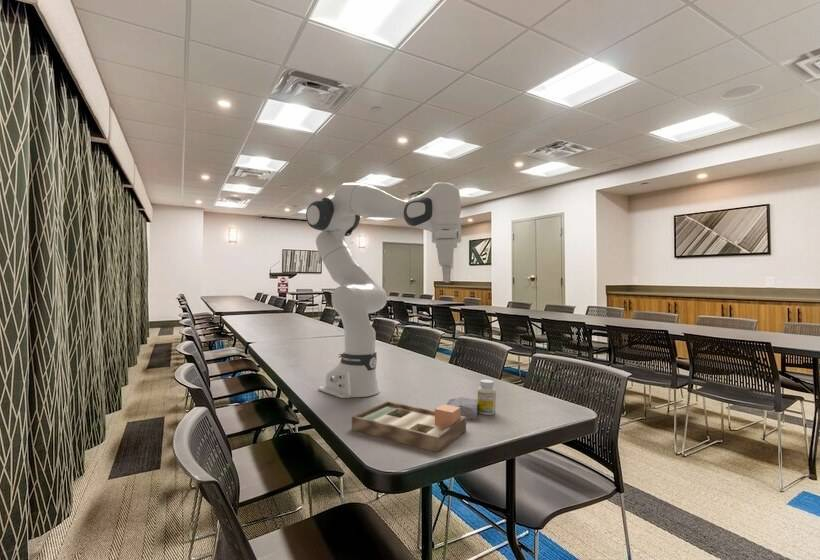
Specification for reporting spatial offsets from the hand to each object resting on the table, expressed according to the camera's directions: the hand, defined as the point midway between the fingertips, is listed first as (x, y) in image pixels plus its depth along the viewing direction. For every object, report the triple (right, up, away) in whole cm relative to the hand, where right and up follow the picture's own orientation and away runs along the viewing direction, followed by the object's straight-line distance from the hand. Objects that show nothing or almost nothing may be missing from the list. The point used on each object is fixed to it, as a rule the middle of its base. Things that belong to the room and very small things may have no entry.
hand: (446, 282), depth 114 cm
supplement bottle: (+12, -40, +2) cm, 42 cm away
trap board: (-11, -39, -13) cm, 43 cm away
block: (-1, -37, -14) cm, 40 cm away
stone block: (+5, -40, +2) cm, 41 cm away
